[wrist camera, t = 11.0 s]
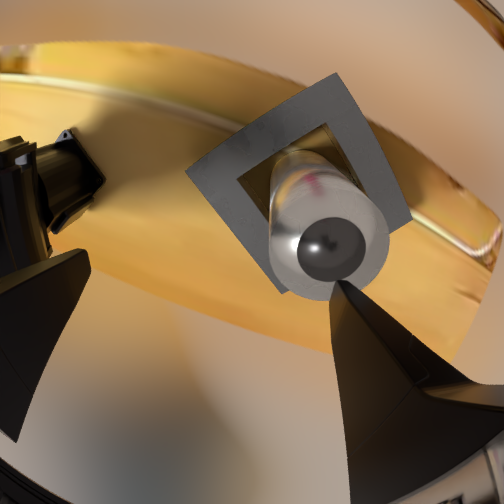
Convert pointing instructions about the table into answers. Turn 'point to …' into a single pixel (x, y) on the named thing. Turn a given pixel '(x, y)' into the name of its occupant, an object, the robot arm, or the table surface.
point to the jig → (279, 136)
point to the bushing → (322, 228)
